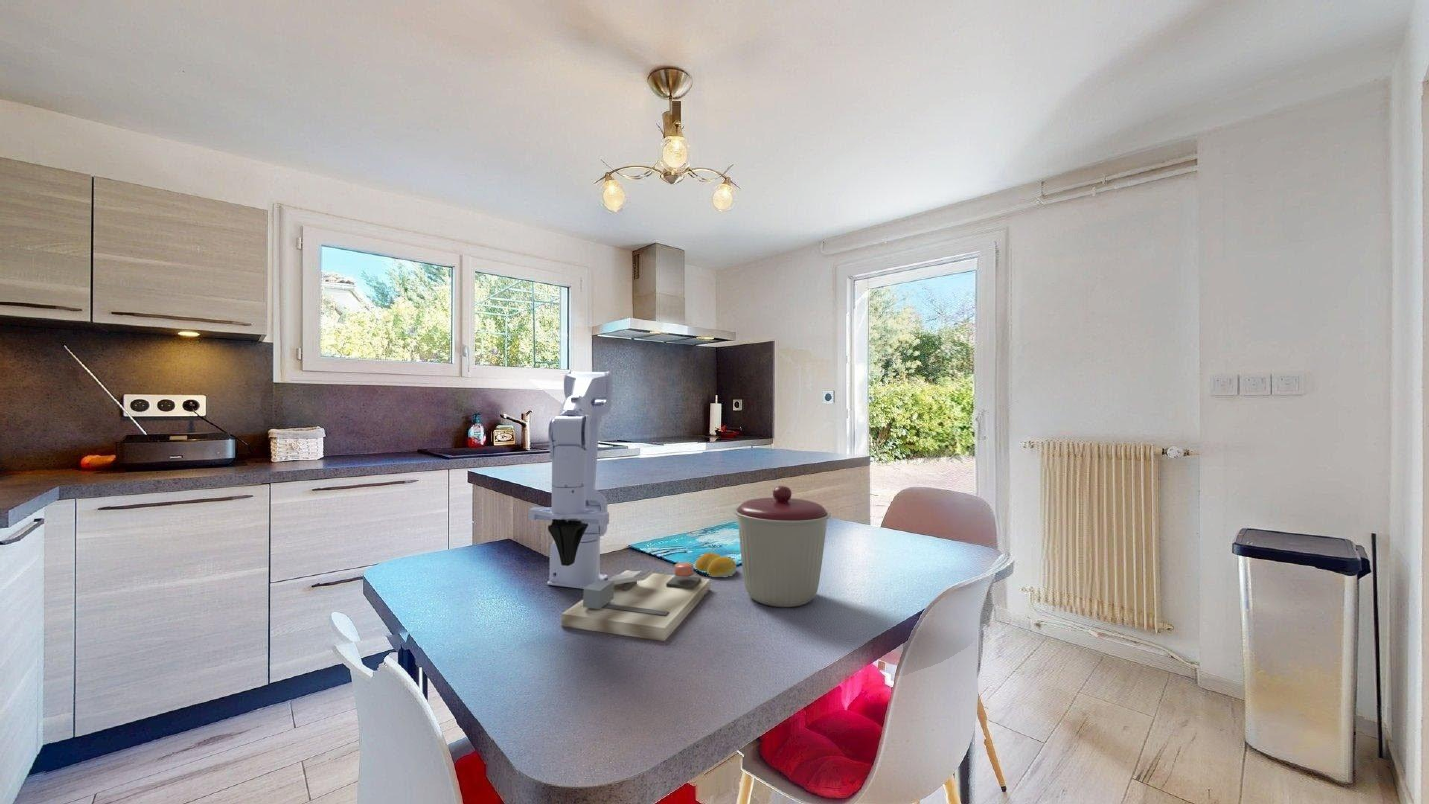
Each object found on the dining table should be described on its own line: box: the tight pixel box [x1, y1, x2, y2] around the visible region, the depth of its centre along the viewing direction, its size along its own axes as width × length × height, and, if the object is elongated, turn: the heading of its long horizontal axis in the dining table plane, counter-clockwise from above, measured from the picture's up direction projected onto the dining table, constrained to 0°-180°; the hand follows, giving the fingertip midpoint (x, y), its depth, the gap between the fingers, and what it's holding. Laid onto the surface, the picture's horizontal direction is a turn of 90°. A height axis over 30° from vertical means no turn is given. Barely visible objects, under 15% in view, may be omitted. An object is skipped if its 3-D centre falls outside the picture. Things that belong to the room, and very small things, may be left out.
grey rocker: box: [606, 568, 654, 585], centre depth 100 cm, size 8×4×1 cm, turn 74°
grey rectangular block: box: [582, 579, 614, 609], centre depth 91 cm, size 3×5×3 cm, turn 164°
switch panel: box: [560, 569, 711, 642], centre depth 96 cm, size 18×24×3 cm
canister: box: [733, 485, 832, 608], centre depth 102 cm, size 18×18×21 cm
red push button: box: [674, 562, 695, 577], centre depth 103 cm, size 4×4×2 cm
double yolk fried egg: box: [694, 552, 737, 577], centre depth 117 cm, size 8×9×4 cm
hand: (567, 564), depth 93 cm, fingers closed
